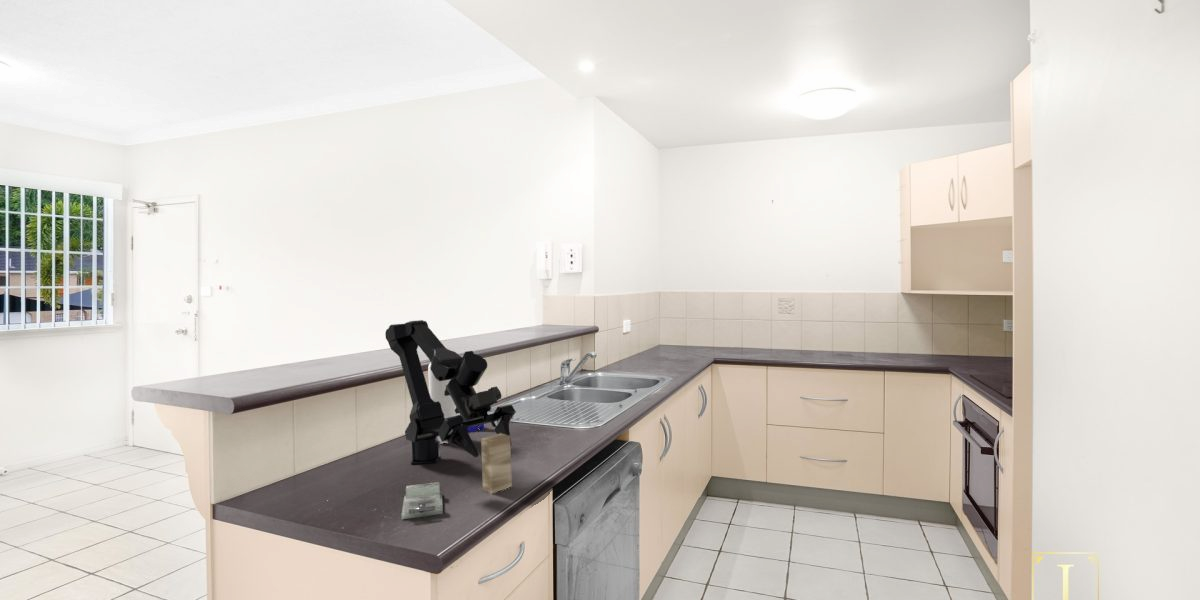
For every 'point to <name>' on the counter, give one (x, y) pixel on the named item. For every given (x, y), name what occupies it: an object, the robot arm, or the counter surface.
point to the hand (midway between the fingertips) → (494, 451)
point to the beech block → (496, 462)
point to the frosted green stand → (422, 500)
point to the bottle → (441, 396)
